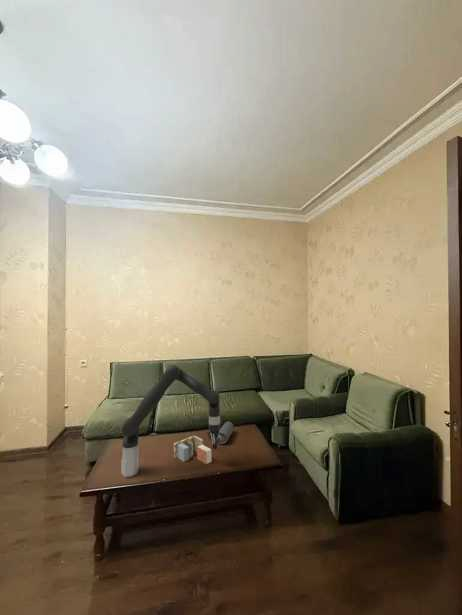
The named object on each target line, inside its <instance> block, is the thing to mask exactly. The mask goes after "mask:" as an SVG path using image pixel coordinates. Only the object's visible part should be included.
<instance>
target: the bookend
mask: <svg viewBox="0 0 462 615" xmlns="http://www.w3.org/2000/svg"><path fill="white" fill-rule="evenodd" d="M186 446H188V447H189V459H190V458H193V457H194V451H193V443H191V442H189V441H186Z"/></svg>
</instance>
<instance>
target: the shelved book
mask: <svg viewBox="0 0 462 615" xmlns="http://www.w3.org/2000/svg"><path fill="white" fill-rule="evenodd" d="M176 459H178V460H180V461H182V462H183V463H185V462H187V461H189V460H190V458H189V447H188V446H186V445H184V444H183V443H182V444H179V445H177V458H176Z"/></svg>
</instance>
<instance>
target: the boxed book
mask: <svg viewBox="0 0 462 615" xmlns="http://www.w3.org/2000/svg"><path fill="white" fill-rule="evenodd" d="M196 453H197V454H196V458H197V460H199V461H200V462H202V463H203V464H205V465H207V464H210V463H212V462H213V461H212V449H211V448H209V447H208V446H206V445H204V444H203V445H200V446H198V447H197V452H196Z"/></svg>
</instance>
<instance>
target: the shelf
mask: <svg viewBox="0 0 462 615" xmlns="http://www.w3.org/2000/svg"><path fill="white" fill-rule="evenodd" d="M186 441H189V442H191V443H193V452H194V451H195V452H196V453H197V447H198V446H200V445H204V440H203V439H202V438H200V437H198V436H196V435H191V436H190V437H186V438H184V439H182V440H179V441H177V442H174V443H173V459H178V458H177V445H179V444H182V443H183V444H184V445H186Z"/></svg>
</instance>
